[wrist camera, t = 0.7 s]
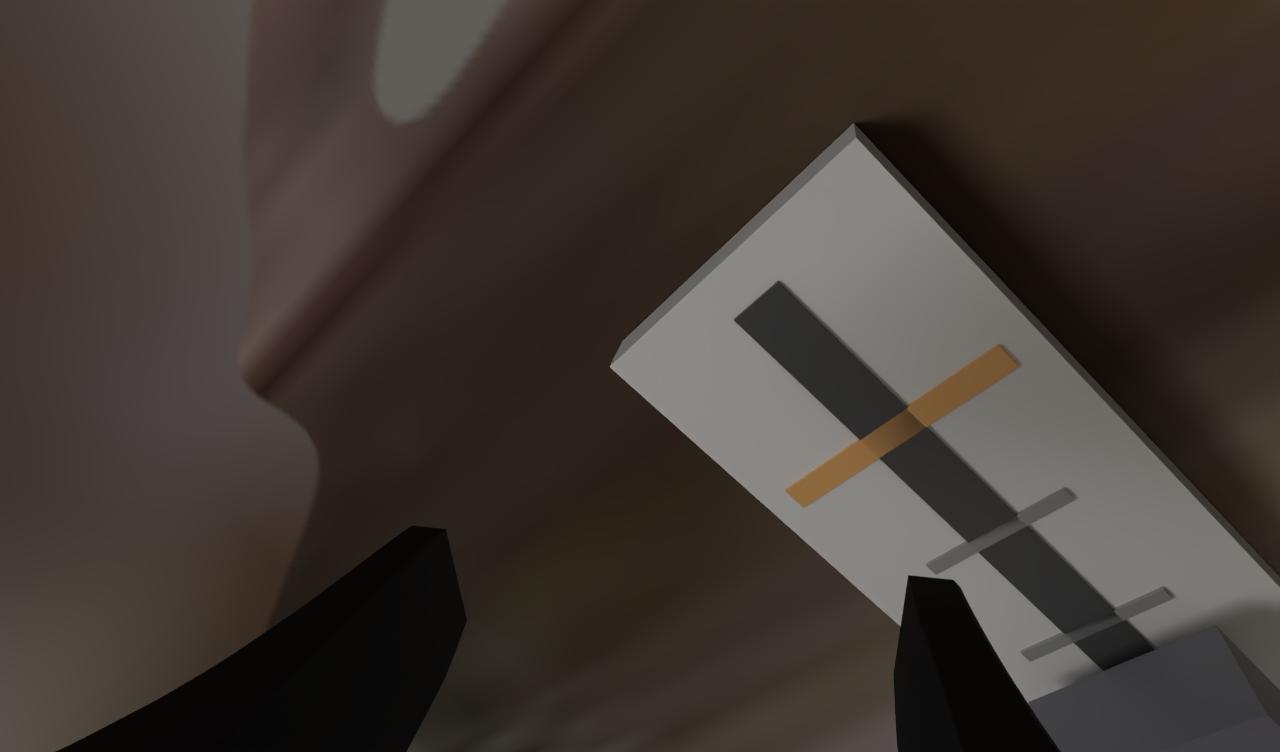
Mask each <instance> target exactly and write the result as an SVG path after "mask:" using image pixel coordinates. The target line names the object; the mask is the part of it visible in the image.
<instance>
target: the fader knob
mask: <svg viewBox="0 0 1280 752" xmlns="http://www.w3.org/2000/svg"><path fill="white" fill-rule="evenodd" d="M1028 704H1029V706H1030V707H1031V709H1032V710H1033V712H1034V713H1035V715H1036V716H1037V718H1038V719H1039V721H1040V722H1041V724H1042V725H1043V727H1044V728H1045V730H1046V731H1047V733H1048V734H1049V735H1050V737H1051V738H1052V740H1053V741H1054V743H1055V744H1056V746H1057V747H1058V748H1059V750H1060V751H1061V752H1280V690H1279V689H1278V688H1277V687H1276V686H1275V685H1274V684H1273V683H1272V682H1271V681H1270V680H1269V679H1268V678H1267V677H1266V676H1265V674H1264V673H1263V672H1262V671H1261V670H1260V669H1259V668H1258V667H1257V666H1256V665H1255V664H1254V663H1253V662H1252V661H1251V660H1250V659H1249V658H1248V657H1247V656H1246V655H1245V654H1244V653H1243V652H1242V651H1241V650H1240V649H1239V648H1238V647H1237V646H1236V645H1235V644H1234V643H1233V642H1232V641H1231V640H1230V639H1229V638H1228V637H1227V636H1226V635H1225V634H1224V633H1223V632H1222V631H1221V630H1220V629H1219V628H1218V627H1217V626H1216V625H1214V626H1212V627H1209V628H1207V629H1204V630H1202V631H1199V632H1197V633H1195V634H1192V635H1190V636H1187V637H1185V638H1183V639H1180V640H1178V641H1175V642H1173V643H1170V644H1168V645H1166V646H1163V647H1161V648H1158V649H1156V650H1153V651H1151V652H1149V653H1145V654H1142V655H1140V656H1138V657H1135V658H1133V659H1130V660H1128V661H1126V662H1123V663H1121V664H1118V665H1116V666H1113V667H1111V668H1110V669H1107V670H1105V671H1103V672H1100V673H1098V674H1095V675H1093V676H1090V677H1088V678H1086V679H1083V680H1081V681H1078V682H1076V683H1073V684H1071V685H1069V686H1066V687H1064V688H1061V689H1059V690H1056V691H1054V692H1052V693H1049V694H1047V695H1044V696H1042V697H1040V698H1037V699H1035V700H1032V701H1030V702H1028Z"/></svg>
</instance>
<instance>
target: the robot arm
mask: <svg viewBox="0 0 1280 752" xmlns="http://www.w3.org/2000/svg"><path fill="white" fill-rule="evenodd" d="M466 621H467V619H466V615H465V610H464V606H463V602H462V597H461V593H460V589H459V584H458V580H457V576H456V571H455V567H454V563H453V558H452V554H451V550H450V545H449V541H448V537H447V532H446V529H440V528H430V527H420V526H411V527H409V528H408V529H406V530H405V531H404V532H402V533H401V534H399V535H398V536H397V537H395V538H394V539H392V540H391V541H390V542H388V543H387V544H386V545H384V546H383V547H382V548H380V549H379V550H378V551H376V552H375V553H374V554H372V555H371V556H370V557H368V558H367V559H366V560H364V561H363V562H362V563H360V564H359V565H358V566H356V567H355V568H354V569H352V570H351V571H350V572H348V573H347V574H346V575H345V576H343V577H342V578H340V579H339V580H338V581H336V582H335V583H334V584H332V585H331V586H330V587H328V588H327V589H326V590H324V591H323V592H322V593H320V594H319V595H317V596H316V597H315V598H313V599H312V600H311V601H309V602H308V603H307V604H305V605H304V606H303V607H301V608H300V609H298V610H297V611H296V612H294V613H293V614H291V615H290V616H288V617H287V618H285V619H284V620H282V621H281V622H280V623H278V624H277V625H275V626H274V627H272V628H271V629H269V630H268V631H266V632H265V633H263V634H262V635H261V636H259V637H258V638H256V639H255V640H253V641H252V642H251V643H249V644H247V645H246V646H245V647H243V648H242V649H240V650H239V651H237V652H236V653H234V654H233V655H231V656H229V657H228V658H226V659H225V660H223V661H222V662H220V663H218V664H217V665H215V666H214V667H212V668H210V669H209V670H207V671H206V672H204V673H202V674H201V675H199V676H197V677H195V678H194V679H192V680H190V681H189V682H187V683H185V684H184V685H182V686H180V687H178V688H177V689H175V690H173V691H172V692H170V693H168V694H167V695H165V696H163V697H161V698H160V699H158V700H156V701H154V702H152V703H150V704H149V705H147V706H145V707H143V708H141V709H139V710H137V711H135V712H133V713H131V714H129V715H127V716H126V717H124V718H122V719H120V720H118V721H116V722H114V723H112V724H110V725H108V726H106V727H104V728H102V729H101V730H99V731H97V732H95V733H93V734H91V735H89V736H87V737H85V738H83V739H81V740H79V741H77V742H75V743H73V744H71V745H69V746H67V747H65V748H63V749H60V750H58V751H56V752H406V751H407V750H408V748H409V746H410V744H411V742H412V740H413V738H414V736H415V735H416V733H417V731H418V729H419V727H420V725H421V723H422V721H423V719H424V718H425V716H426V714H427V712H428V710H429V708H430V706H431V704H432V702H433V700H434V699H435V697H436V695H437V693H438V691H439V689H440V687H441V685H442V683H443V681H444V679H445V677H446V674H447V671H448V669H449V666H450V664H451V661H452V659H453V656H454V654H455V651H456V648H457V646H458V643H459V640H460V637H461V635H462V632H463V629H464V626H465V624H466ZM894 693H895V714H896V733H897V747H898V752H1061V751H1060V750H1059V748H1058V747H1057V746H1056V744H1055V743H1054V741H1053V740H1052V738H1051V737H1050V735H1049V734H1048V733H1047V731H1046V730H1045V728H1044V727H1043V725H1042V724H1041V722H1040V721H1039V719H1038V718H1037V716H1036V715H1035V713H1034V712H1033V710H1032V709H1031V707H1030V706H1029V704H1028V703H1027V701H1026V700H1025V698H1024V696H1023V695H1022V693H1021V692H1020V690H1019V689H1018V687H1017V686H1016V684H1015V683H1014V681H1013V680H1012V678H1011V676H1010V675H1009V673H1008V671H1007V670H1006V668H1005V667H1004V665H1003V663H1002V662H1001V660H1000V658H999V657H998V655H997V653H996V652H995V650H994V648H993V646H992V645H991V643H990V641H989V640H988V638H987V636H986V634H985V633H984V631H983V629H982V627H981V626H980V624H979V622H978V620H977V618H976V617H975V615H974V613H973V611H972V609H971V607H970V605H969V603H968V601H967V599H966V598H965V596H964V594H963V591H962V589H961V587H960V586H959V585H958V584H957V583H956V582H955V581H954V580H951V579H941V578H931V577H921V576H911V575H908V580H907V586H906V593H905V600H904V607H903V614H902V621H901V627H900V634H899V641H898V648H897V655H896V662H895V668H894Z"/></svg>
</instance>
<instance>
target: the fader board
mask: <svg viewBox="0 0 1280 752" xmlns="http://www.w3.org/2000/svg"><path fill="white" fill-rule="evenodd" d="M610 368H611V369H612V370H614V371H615V372H616V373H617V374H618V375H619V376H620V377H621V378H623V379H624V380H625V381H626V382H627V383H628V384H629V385H630V386H632V387H633V388H634V389H635V390H636V391H637V392H638V393H639V394H641V395H642V396H643V397H644V398H645V399H646V400H647V401H648V402H649V403H651V404H652V405H653V406H654V407H655V408H656V409H657V410H658V411H660V412H661V413H662V414H663V415H664V416H665V417H666V418H667V419H669V420H670V421H671V422H672V423H673V424H674V425H675V426H676V427H677V428H679V429H680V430H681V431H682V432H683V433H684V434H685V435H686V436H688V437H689V438H690V439H691V440H692V441H693V442H694V443H695V444H697V445H698V446H699V447H700V448H701V449H702V450H703V451H704V452H706V453H707V454H708V455H709V456H710V457H711V458H712V459H713V460H714V461H716V462H717V463H718V464H719V465H720V466H721V467H722V468H723V469H725V470H726V471H727V472H728V473H729V474H730V475H731V476H732V477H734V478H735V479H736V480H737V481H738V482H739V483H740V484H741V485H742V486H744V487H745V488H746V489H747V490H748V491H749V492H750V493H751V494H753V495H754V496H755V497H756V498H757V499H758V500H759V501H760V502H762V503H763V504H764V505H765V506H766V507H767V508H768V509H769V510H771V511H772V512H773V513H774V514H775V515H776V516H777V517H778V518H779V519H781V520H782V521H783V522H784V523H785V524H786V525H787V526H788V527H790V528H791V529H792V530H793V531H794V532H795V533H796V534H797V535H799V536H800V537H801V538H802V539H803V540H804V541H805V542H806V543H808V544H809V545H810V546H811V547H812V548H813V549H814V550H815V551H816V552H818V553H819V554H820V555H821V556H822V557H823V558H824V559H825V560H827V561H828V562H829V563H830V564H831V565H832V566H833V567H834V568H836V569H837V570H838V571H839V572H840V573H841V574H842V575H843V576H844V577H846V578H847V579H848V580H849V581H850V582H851V583H852V584H853V585H855V586H856V587H857V588H858V589H859V590H860V591H861V592H862V593H864V594H865V595H866V596H867V597H868V598H869V599H870V600H871V601H873V602H874V603H875V604H876V605H877V606H878V607H879V608H880V609H881V610H883V611H884V612H885V613H886V614H887V615H888V616H889V617H890V618H892V619H893V620H894V621H895V622H896V623H897V624H898V625H899V626H901V621H902V614H903V607H904V600H905V593H906V586H907V580H908V575H911V576H921V577H931V578H941V579H951V580H954V581H955V582H956V583H957V584H958V585H959V586H960V587H961V589H962V591H963V594H964V596H965V598H966V599H967V601H968V603H969V605H970V607H971V609H972V611H973V613H974V615H975V617H976V618H977V620H978V622H979V624H980V626H981V627H982V629H983V631H984V633H985V634H986V636H987V638H988V640H989V641H990V643H991V645H992V646H993V648H994V650H995V652H996V653H997V655H998V657H999V658H1000V660H1001V662H1002V663H1003V665H1004V667H1005V668H1006V670H1007V671H1008V673H1009V675H1010V676H1011V678H1012V680H1013V681H1014V683H1015V684H1016V686H1017V687H1018V689H1019V690H1020V692H1021V693H1022V695H1023V696H1024V698H1025V700H1026V701H1027V703H1028V702H1030V701H1032V700H1035V699H1037V698H1040V697H1042V696H1044V695H1047V694H1049V693H1052V692H1054V691H1056V690H1059V689H1061V688H1064V687H1066V686H1069V685H1071V684H1073V683H1076V682H1078V681H1081V680H1083V679H1086V678H1088V677H1090V676H1093V675H1095V674H1098V673H1100V672H1103V671H1105V670H1107V669H1110V668H1111V667H1113V666H1116V665H1118V664H1121V663H1123V662H1126V661H1128V660H1130V659H1133V658H1135V657H1138V656H1140V655H1142V654H1145V653H1149V652H1151V651H1153V650H1156V649H1158V648H1161V647H1163V646H1166V645H1168V644H1170V643H1173V642H1175V641H1178V640H1180V639H1183V638H1185V637H1187V636H1190V635H1192V634H1195V633H1197V632H1199V631H1202V630H1204V629H1207V628H1209V627H1212V626H1214V625H1216V626H1217V627H1218V628H1219V629H1220V630H1221V631H1222V632H1223V633H1224V634H1225V635H1226V636H1227V637H1228V638H1229V639H1230V640H1231V641H1232V642H1233V643H1234V644H1235V645H1236V646H1237V647H1238V648H1239V649H1240V650H1241V651H1242V652H1243V653H1244V654H1245V655H1246V656H1247V657H1248V658H1249V659H1250V660H1251V661H1252V662H1253V663H1254V664H1255V665H1256V666H1257V667H1258V668H1259V669H1260V670H1261V671H1262V672H1263V673H1264V674H1265V676H1266V677H1267V678H1268V679H1269V680H1270V681H1271V682H1272V683H1273V684H1274V685H1275V686H1276V687H1277V688H1278V689H1279V690H1280V577H1279V576H1278V575H1277V574H1276V573H1275V572H1274V571H1273V569H1272V568H1271V567H1270V566H1269V565H1268V564H1267V563H1266V562H1265V561H1264V560H1263V559H1262V558H1261V557H1260V556H1259V555H1258V553H1257V552H1256V551H1255V550H1254V549H1253V548H1252V547H1251V546H1250V545H1249V544H1248V543H1247V542H1246V541H1245V540H1244V539H1243V537H1242V536H1241V535H1240V534H1239V533H1238V532H1237V531H1236V530H1235V529H1234V528H1233V527H1232V526H1231V525H1230V524H1229V523H1228V521H1227V520H1226V519H1225V518H1224V517H1223V516H1222V515H1221V514H1220V513H1219V512H1218V511H1217V510H1216V509H1215V508H1214V507H1213V505H1212V504H1211V503H1210V502H1209V501H1208V500H1207V499H1206V498H1205V497H1204V496H1203V495H1202V494H1201V493H1200V492H1199V491H1198V490H1197V488H1196V487H1195V486H1194V485H1193V484H1192V483H1191V482H1190V481H1189V480H1188V479H1187V478H1186V477H1185V476H1184V475H1183V474H1182V472H1181V471H1180V470H1179V469H1178V468H1177V467H1176V466H1175V465H1174V464H1173V463H1172V462H1171V461H1170V460H1169V459H1168V458H1167V456H1166V455H1165V454H1164V453H1163V452H1162V451H1161V450H1160V449H1159V448H1158V447H1157V446H1156V445H1155V444H1154V443H1153V442H1152V440H1151V439H1150V438H1149V437H1148V436H1147V435H1146V434H1145V433H1144V432H1143V431H1142V430H1141V429H1140V428H1139V427H1138V426H1137V424H1136V423H1135V422H1134V421H1133V420H1132V419H1131V418H1130V417H1129V416H1128V415H1127V414H1126V413H1125V412H1124V411H1123V410H1122V408H1121V407H1120V406H1119V405H1118V404H1117V403H1116V402H1115V401H1114V400H1113V399H1112V398H1111V397H1110V396H1109V395H1108V394H1107V393H1106V391H1105V390H1104V389H1103V388H1102V387H1101V386H1100V385H1099V384H1098V383H1097V382H1096V381H1095V380H1094V379H1093V378H1092V377H1091V375H1090V374H1089V373H1088V372H1087V371H1086V370H1085V369H1084V368H1083V367H1082V366H1081V365H1080V364H1079V363H1078V362H1077V361H1076V359H1075V358H1074V357H1073V356H1072V355H1071V354H1070V353H1069V352H1068V351H1067V350H1066V349H1065V348H1064V347H1063V346H1062V345H1061V343H1060V342H1059V341H1058V340H1057V339H1056V338H1055V337H1054V336H1053V335H1052V334H1051V333H1050V332H1049V331H1048V330H1047V329H1046V327H1045V326H1044V325H1043V324H1042V323H1041V322H1040V321H1039V320H1038V319H1037V318H1036V317H1035V316H1034V315H1033V314H1032V313H1031V312H1030V310H1029V309H1028V308H1027V307H1026V306H1025V305H1024V304H1023V303H1022V302H1021V301H1020V300H1019V299H1018V298H1017V297H1016V296H1015V294H1014V293H1013V292H1012V291H1011V290H1010V289H1009V288H1008V287H1007V286H1006V285H1005V284H1004V283H1003V282H1002V281H1001V280H1000V278H999V277H998V276H997V275H996V274H995V273H994V272H993V271H992V270H991V269H990V268H989V267H988V266H987V265H986V264H985V262H984V261H983V260H982V259H981V258H980V257H979V256H978V255H977V254H976V253H975V252H974V251H973V250H972V249H971V248H970V246H969V245H968V244H967V243H966V242H965V241H964V240H963V239H962V238H961V237H960V236H959V235H958V234H957V233H956V232H955V230H954V229H953V228H952V227H951V226H950V225H949V224H948V223H947V222H946V221H945V220H944V219H943V218H942V217H941V216H940V215H939V213H938V212H937V211H936V210H935V209H934V208H933V207H932V206H931V205H930V204H929V203H928V202H927V201H926V200H925V199H924V197H923V196H922V195H921V194H920V193H919V192H918V191H917V190H916V189H915V188H914V187H913V186H912V185H911V184H910V183H909V181H908V180H907V179H906V178H905V177H904V176H903V175H902V174H901V173H900V172H899V171H898V170H897V169H896V168H895V167H894V165H893V164H892V163H891V162H890V161H889V160H888V159H887V158H886V157H885V156H884V155H883V154H882V153H881V152H880V151H879V149H878V148H877V147H876V146H875V145H874V144H873V143H872V142H871V141H870V140H869V139H868V138H867V137H866V136H865V135H864V133H863V132H862V131H861V130H860V129H859V128H858V127H857V126H856V125H855V124H854V123H853V124H852V125H851V126H850V127H849V128H848V129H847V130H846V131H845V132H844V133H843V134H842V135H841V136H839V137H838V138H837V139H836V140H835V141H834V142H833V143H832V144H831V145H830V146H829V147H828V148H827V149H826V150H825V151H824V152H823V153H821V154H820V155H819V156H818V157H817V158H816V159H815V160H814V161H813V162H812V163H811V164H810V165H809V166H808V167H807V168H806V169H804V170H803V171H802V172H801V173H800V174H799V175H798V176H797V177H796V178H795V179H794V180H793V181H792V182H791V183H790V184H789V185H788V186H786V187H785V188H784V189H783V190H782V191H781V192H780V193H779V194H778V195H777V196H776V197H775V198H774V199H773V200H772V201H771V202H769V203H768V204H767V205H766V206H765V207H764V208H763V209H762V210H761V211H760V212H759V213H758V214H757V215H756V216H755V217H754V218H753V219H751V220H750V221H749V222H748V223H747V224H746V225H745V226H744V227H743V228H742V229H741V230H740V231H739V232H738V233H737V234H736V235H735V236H733V237H732V238H731V239H730V240H729V241H728V242H727V243H726V244H725V245H724V246H723V247H722V248H721V249H720V250H719V251H718V252H716V253H715V254H714V255H713V256H712V257H711V258H710V259H709V260H708V261H707V262H706V263H705V264H704V265H703V266H702V267H701V268H700V269H698V270H697V271H696V272H695V273H694V274H693V275H692V276H691V277H690V278H689V279H688V280H687V281H686V282H685V283H684V284H683V285H681V286H680V287H679V288H678V289H677V290H676V291H675V292H674V293H673V294H672V295H671V296H670V297H669V298H668V299H667V300H666V301H665V302H663V303H662V304H661V305H660V306H659V307H658V308H657V309H656V310H655V311H654V312H653V313H652V314H651V315H650V316H649V317H648V318H647V319H645V320H644V321H643V322H642V323H641V324H640V325H639V326H638V327H637V328H636V329H635V330H634V331H633V332H632V333H631V334H630V335H628V336H627V337H626V338H625V339H624V340H623V341H622V343H621V345H620V347H619V349H618V351H617V353H616V355H615V357H614V359H613V361H612V363H611V365H610Z"/></svg>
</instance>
